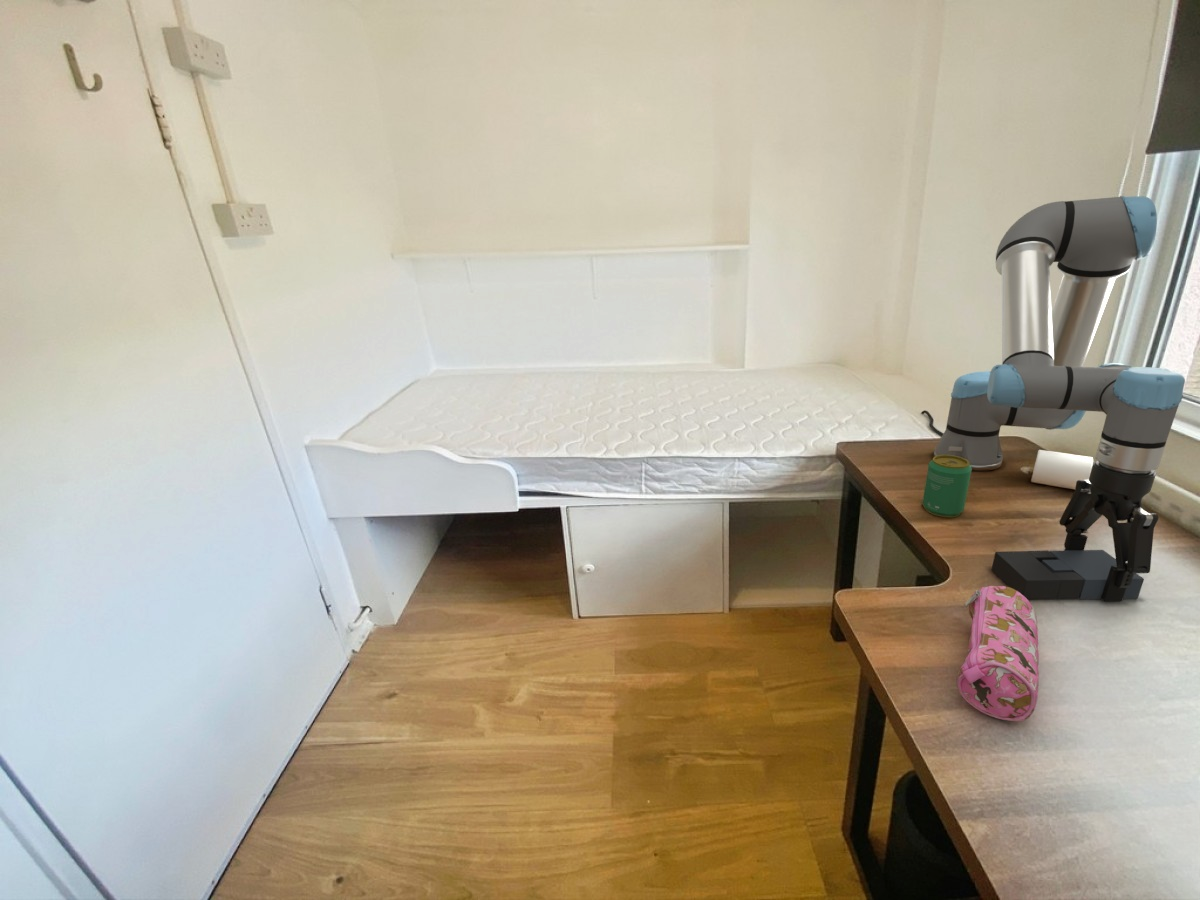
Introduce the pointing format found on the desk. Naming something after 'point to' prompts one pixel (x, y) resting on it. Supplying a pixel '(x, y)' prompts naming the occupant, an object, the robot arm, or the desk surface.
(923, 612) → the desk surface
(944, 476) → the beverage can
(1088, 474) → the white cylinder on side
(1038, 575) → the black u-shaped block
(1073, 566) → the grey block
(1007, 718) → the pencil case
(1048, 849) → the desk surface
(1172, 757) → the desk surface
